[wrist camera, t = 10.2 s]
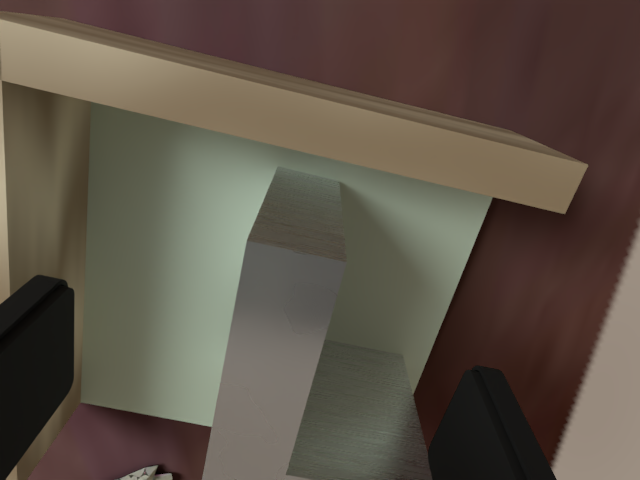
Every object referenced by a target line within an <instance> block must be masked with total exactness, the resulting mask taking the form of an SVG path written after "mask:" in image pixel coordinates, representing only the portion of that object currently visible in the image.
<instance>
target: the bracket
mask: <svg viewBox="0 0 640 480" xmlns="http://www.w3.org/2000/svg"><path fill="white" fill-rule="evenodd" d="M346 264H347V260H346V249H345V238H344V227H343V217H342V206H341V195H340V184H339V181H338V180H334V179H329V178H325V177H321V176H317V175H312V174H308V173H304V172H300V171H295V170H291V169H287V168H282V167H277V170H276V172H275V174H274V177H273V179H272V181H271V184H270V186H269V189H268V191H267V193H266V196H265V198H264V200H263V203H262V205H261V208H260V210H259V212H258V215H257V217H256V220H255V222H254V224H253V227H252V229H251V231H250V234H249V236H248V239H247V242H246V247H245V252H244V258H243V263H242V268H241V274H240V279H239V284H238V290H237V295H236V300H235V306H234V311H233V317H232V322H231V327H230V333H229V338H228V343H227V349H226V354H225V359H224V365H223V370H222V375H221V381H220V386H219V392H218V397H217V402H216V408H215V413H214V418H213V424H212V429H211V434H210V440H209V445H208V450H207V456H206V461H205V467H204V472H203V477H202V480H432V476H431V471H430V467H429V462H428V454H427V450H426V446H425V442H424V437H423V433H422V429H421V425H420V421H419V417H418V413H417V409H416V405H415V401H414V397H413V393H412V389H411V385H410V381H409V377H408V373H407V369H406V365H405V361H404V357H403V355H399V354H394V353H390V352H385V351H380V350H375V349H370V348H365V347H360V346H355V345H351V344H346V343H341V342H336V341H331V340H326V339H325V337H326V333H327V330H328V326H329V323H330V319H331V316H332V312H333V309H334V305H335V302H336V298H337V295H338V291H339V288H340V284H341V281H342V277H343V274H344V270H345V267H346Z"/></svg>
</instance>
